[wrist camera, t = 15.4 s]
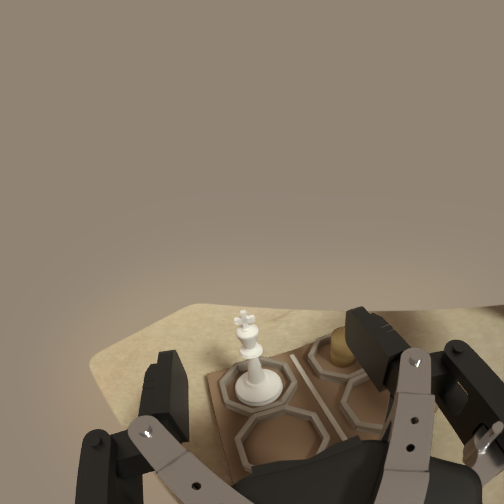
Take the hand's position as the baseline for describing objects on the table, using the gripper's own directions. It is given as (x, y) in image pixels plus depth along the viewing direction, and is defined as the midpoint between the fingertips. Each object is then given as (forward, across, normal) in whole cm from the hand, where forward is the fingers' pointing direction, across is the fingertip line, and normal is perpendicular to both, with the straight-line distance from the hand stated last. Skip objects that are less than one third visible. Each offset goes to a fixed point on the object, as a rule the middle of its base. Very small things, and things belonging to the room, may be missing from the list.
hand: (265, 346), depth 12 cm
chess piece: (+9, 0, +14) cm, 17 cm away
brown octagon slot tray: (+6, -5, +16) cm, 18 cm away
